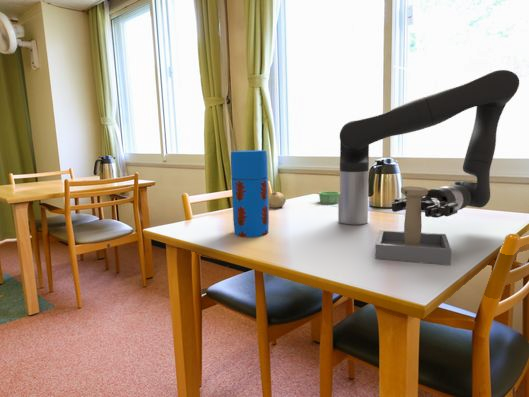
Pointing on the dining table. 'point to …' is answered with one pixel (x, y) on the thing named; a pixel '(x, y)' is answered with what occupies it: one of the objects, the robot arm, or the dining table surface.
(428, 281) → the dining table surface
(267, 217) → the thermos
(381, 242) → the tray
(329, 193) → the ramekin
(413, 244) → the handle
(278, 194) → the onion
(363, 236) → the dining table surface
